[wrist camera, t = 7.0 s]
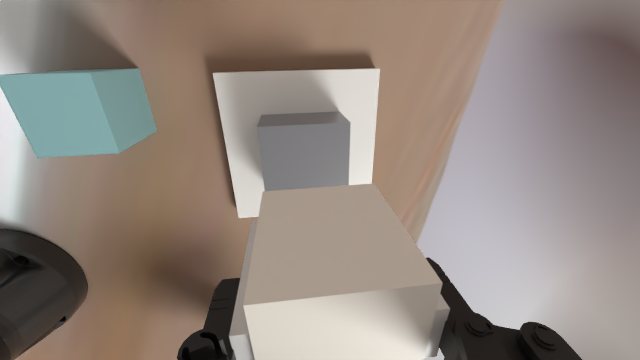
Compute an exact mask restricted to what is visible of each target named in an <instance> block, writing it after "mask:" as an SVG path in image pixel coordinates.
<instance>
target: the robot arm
mask: <svg viewBox="0 0 640 360" xmlns="http://www.w3.org/2000/svg"><path fill="white" fill-rule="evenodd" d="M257 222H258V220H254V221H252V222H251V227H250V232H249V237H248V243H247V248H246V253H245V258H244V263H243V268H242V273H241V278H234V279H224V280H222V281H221V282H220V284H219V285H218V286H217V287H216V289H215V291H214V294H213V298H212V302H211V304H210V308H209V311H208V315H207V318H206V321H205V325H204V328H203V329H202V330H199V331H197V332H195V333H193V334H191V335H190V336H189V337H188V338H187V339H186V340H185V341H184V342H183V344H182V345H181V347H180V349H179V351H178V356H177V359H178V360H255V359H254V354H253V349H252V345H251V340H250V335H249V330H248V326H247V321H246V316H245V311H244V307H243V304H244V298H245V292H246V287H247V281H248V275H249V269H250V263H251V257H252V251H253V245H254V239H255V233H256V228H257ZM426 260H427V261H428V262H429V264H430V265H431V267H432V268H433V270H434V271H435V273H436V274H437V275H438V277H439V278H440V280H441V281H442V283H443V284H442V288H441V292H440V296H439V300H438V304H437V308H436V312H435V316H434V320H433V324H432V329H431V333H430V337H429V341H428V345H427V349H426V353H425V357H424V358H428V357H435V356H437V353H438V349H439V348H440V349H441V351H442V353H443V355H444V357H445V358H444V360H582V359H581V358H580V357H579V356H578V354H577V353H576V352H575V351H574V350H573V349H572V348H571V347H570V346H569V345H568V344H567V342H565V340H564V339H563V338H562V337H561V336H560V335H558V334H557V333H556V332H555V331H554V330H552V329H550V328H549V327H547V326H545V325H542V324H539V323H536V322H527V323H524V324H523V325H522V327H521V328H520V330H516V329H510V328H505V327H499V326H495V325H493V324H492V323H491V322H490V321H489V320H487V319H486V318H485V317H483V316H481V315H480V314H478V313H474V312H473V311H472V310H471V308H470V307H469V306H468V304H467V303H466V301H465V300H464V299H463V297H462V296H461V295H460V293H459V292H458V291H457V289H456V288H455V286H454V285H453V284H452V283H451V282H450V280H449V278H448V277H447V276H446V275H445V273H444V272H443V270H442V269H441V267H440V266H439V265H438V264H437V263H435V262H434V261H433V260H431V259H430V258H426ZM87 292H88V284H87V280H86V277H85V275H84V272H83V271H82V269H81V268H80V266H79V265H78V264H77V263H76V262H75V261H74V260H73V259H72V258H71V257H70V256H69V255H68V254H67V253H65V252H64V251H63V250H61V249H60V248H58V247H56V246H55V245H53V244H51V243H49V242H47V241H45V240H43V239H40V238H38V237H35V236H32V235H29V234H26V233H22V232H17V231H12V230H6V229H0V360H14V359H16V358H17V357H18V356H20V355H21V354H23V353H24V352H25V351H27V350H28V349H30V348H31V347H32V346H34V345H35V344H36V343H38V342H39V341H41V340H42V339H43V338H45V337H46V336H47V335H49V334H50V333H51V332H53V331H54V330H55V329H57V328H59V327H60V326H61V325H63V324H64V323H65V322H67V321H68V320H69V319H70V318H71V317H72V315H73V314H74V313H75V312H76V311H77V309H78V308H79V307H80V306H81V304H82V303H83V302H84V300H85V298H86V296H87Z"/></svg>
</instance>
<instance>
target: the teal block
mask: <svg viewBox="0 0 640 360" xmlns="http://www.w3.org/2000/svg"><path fill="white" fill-rule="evenodd" d="M0 87H1V89H2V91H3V92H4V94H5V96H6V98H7V100H8V102H9V104H10V106H11V108H12V110H13V112H14V114H15V116H16V118H17V120H18V122H19V123H20V125H21V127H22V129H23V131H24V133H25V135H26V137H27V139H28V141H29V143H30V145H31V147H32V149H33V151H34V153H35V155H36V156H37V158H43V157H60V156H78V155H95V154H113V153H121V152H122V151H124V150H126V149H127V148H129V147H131V146H132V145H134V144H136V143H137V142H139V141H141V140H143V139H144V138H146V137H148V136H149V135H151V134H153V133H154V132H156V131H157V129H156V126H155V122H154V119H153V115H152V112H151V108H150V105H149V102H148V98H147V95H146V91H145V88H144V85H143V81H142V78H141V74H140V71H139V68H135V69H97V70H66V71H50V72H35V73H20V74H5V75H0Z"/></svg>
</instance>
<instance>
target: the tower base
mask: <svg viewBox="0 0 640 360" xmlns="http://www.w3.org/2000/svg"><path fill="white" fill-rule="evenodd" d="M379 75H380V69H378V68H359V69H320V70H282V71H244V72H215V73H213V78H214V83H215V89H216V94H217V100H218V106H219V111H220V117H221V122H222V128H223V133H224V139H225V144H226V150H227V155H228V161H229V166H230V172H231V178H232V183H233V189H234V194H235V200H236V205H237V211H238V216H239V218H247V217H258V216H259V210H260V204H261V198H262V192H263V191H276V190H290V189H304V188H317V187H331V186H345V185H359V184H371V183H372V170H373V156H374V143H375V129H376V115H377V102H378V88H379Z"/></svg>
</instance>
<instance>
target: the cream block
mask: <svg viewBox="0 0 640 360" xmlns="http://www.w3.org/2000/svg"><path fill="white" fill-rule="evenodd" d="M442 284H443V283H442V281H441V280H440V278H439V277H438V275H437V274H436V273H435V271H434V270H433V268H432V267H431V265H430V264H429V262H428V261H427V260H426V258H425V257H424V255H423V254H422V252H421V251H420V249H419V248H418V246H417V245H416V244H415V242H414V241H413V239H412V238H411V236H410V235H409V233H408V232H407V231H406V229H405V228H404V226H403V225H402V223H401V222H400V220H399V219H398V218H397V216H396V215H395V213H394V212H393V210H392V209H391V207H390V206H389V205H388V203H387V202H386V200H385V199H384V197H383V196H382V194H381V193H380V191H379V190H378V189H377V187H376V186H375V184H374V183H372V184H359V185H345V186H331V187H317V188H304V189H290V190H276V191H263V192H262V198H261V204H260V210H259V216H258V222H257V228H256V233H255V239H254V245H253V251H252V257H251V263H250V269H249V275H248V281H247V287H246V292H245V298H244V304H243V307H244V311H245V316H246V321H247V326H248V330H249V335H250V340H251V345H252V349H253V354H254V359H255V360H424V357H425V353H426V349H427V345H428V341H429V337H430V333H431V329H432V324H433V320H434V316H435V312H436V308H437V304H438V300H439V296H440V292H441V288H442Z"/></svg>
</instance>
